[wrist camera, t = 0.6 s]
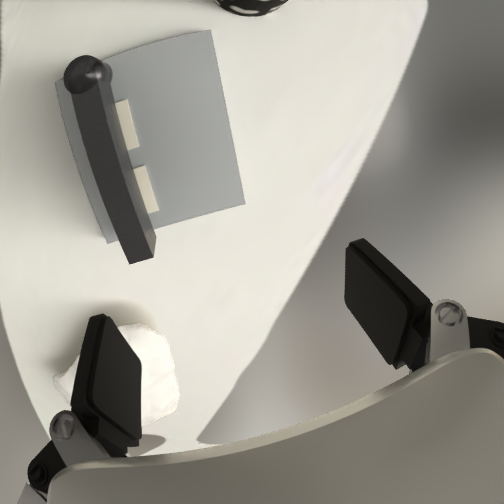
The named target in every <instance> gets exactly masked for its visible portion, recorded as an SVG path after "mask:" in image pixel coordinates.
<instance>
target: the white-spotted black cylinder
mask: <svg viewBox="0 0 504 504" xmlns="http://www.w3.org/2000/svg"><path fill="white" fill-rule="evenodd" d="M214 1H215V2H216V3H217V4H218V5H219V6H220V7H222V8H223V9H225V10H227V11H229V12H231V13H234V14H237V15H241V16H248V17H252V16H262V15H266V14H269V13H272V12H273V11H275V10H277V9H278V8H279V7H281V6H282V5H283V4H284V3H285V2H287V1H288V0H214Z"/></svg>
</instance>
